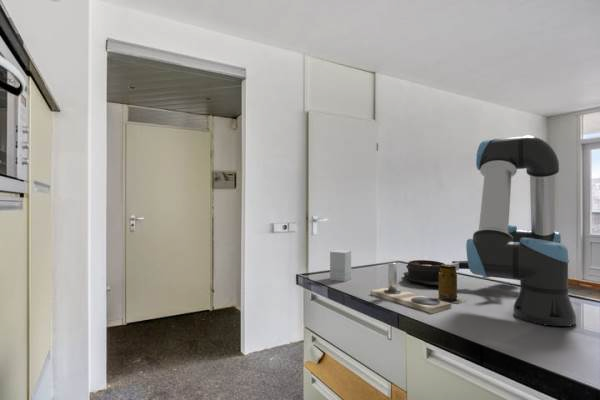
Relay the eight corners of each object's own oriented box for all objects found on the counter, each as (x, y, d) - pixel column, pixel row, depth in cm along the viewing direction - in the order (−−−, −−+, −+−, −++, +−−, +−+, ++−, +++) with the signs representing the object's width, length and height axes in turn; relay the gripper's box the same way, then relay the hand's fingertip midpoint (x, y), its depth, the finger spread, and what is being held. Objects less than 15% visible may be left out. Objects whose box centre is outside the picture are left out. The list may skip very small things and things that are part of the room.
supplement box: (351, 278, 153) (351, 250, 153) (344, 282, 147) (344, 252, 147) (336, 276, 157) (337, 249, 157) (329, 279, 151) (329, 251, 151)
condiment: (443, 295, 127) (443, 262, 127) (466, 300, 120) (466, 266, 120) (433, 298, 122) (433, 265, 122) (456, 304, 116) (456, 268, 116)
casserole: (393, 276, 158) (393, 258, 158) (430, 275, 161) (430, 257, 162) (421, 290, 134) (421, 269, 134) (464, 288, 137) (464, 267, 137)
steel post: (398, 296, 125) (398, 263, 125) (392, 297, 123) (392, 264, 123) (391, 294, 127) (392, 262, 127) (386, 295, 125) (386, 263, 125)
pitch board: (450, 307, 111) (450, 302, 111) (432, 313, 106) (432, 308, 106) (388, 290, 133) (388, 286, 133) (370, 294, 127) (370, 289, 127)
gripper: (528, 279, 129) (500, 288, 117) (465, 268, 149) (435, 274, 137) (528, 260, 129) (500, 266, 117) (465, 251, 149) (435, 256, 137)
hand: (465, 271), depth 127 cm, fingers open, 13 cm apart
